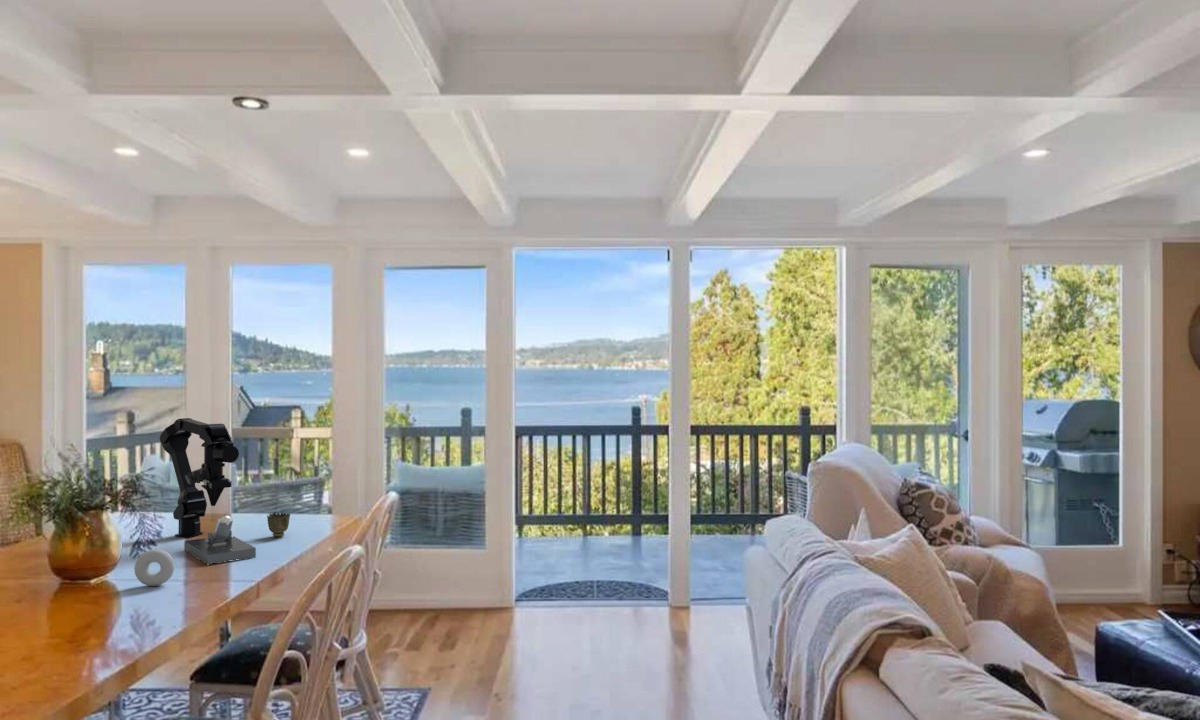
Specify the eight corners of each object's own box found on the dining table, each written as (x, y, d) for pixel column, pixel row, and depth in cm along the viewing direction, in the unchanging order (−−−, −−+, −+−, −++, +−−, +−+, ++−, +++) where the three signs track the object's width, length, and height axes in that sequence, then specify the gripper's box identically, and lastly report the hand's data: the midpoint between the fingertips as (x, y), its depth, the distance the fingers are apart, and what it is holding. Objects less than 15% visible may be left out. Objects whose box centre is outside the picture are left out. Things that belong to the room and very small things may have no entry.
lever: (211, 539, 240) (218, 514, 235) (224, 537, 242) (232, 512, 237) (213, 546, 238) (220, 521, 233) (226, 544, 241) (234, 519, 236)
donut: (176, 583, 208) (176, 547, 208) (171, 586, 205) (172, 550, 205) (137, 584, 206) (137, 548, 206) (131, 588, 203) (132, 551, 203)
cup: (284, 539, 259) (284, 516, 259) (263, 539, 260) (263, 516, 260) (293, 534, 267) (293, 512, 267) (272, 534, 267) (273, 511, 267)
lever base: (184, 550, 244) (184, 528, 244) (230, 543, 253) (230, 522, 253) (207, 565, 226) (207, 542, 226) (255, 557, 236) (255, 535, 236)
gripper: (179, 459, 258) (179, 504, 258) (196, 465, 244) (195, 513, 244) (214, 457, 265) (214, 500, 265) (232, 462, 252) (231, 508, 252)
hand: (213, 505), depth 256 cm, fingers closed
